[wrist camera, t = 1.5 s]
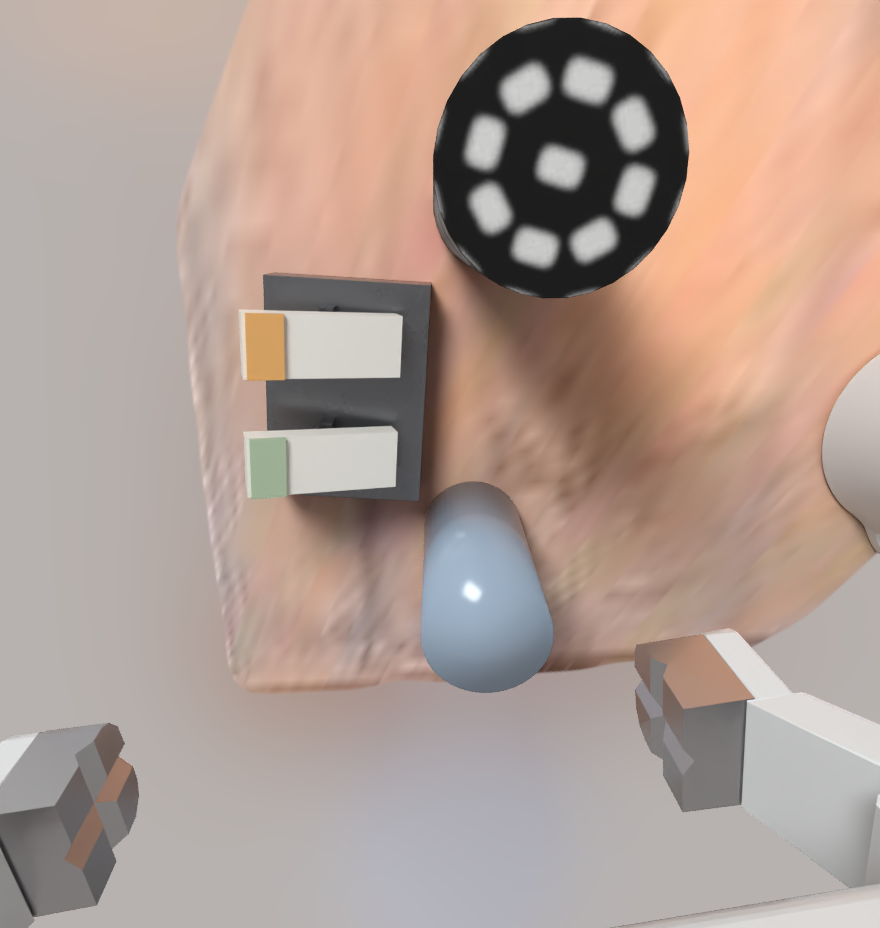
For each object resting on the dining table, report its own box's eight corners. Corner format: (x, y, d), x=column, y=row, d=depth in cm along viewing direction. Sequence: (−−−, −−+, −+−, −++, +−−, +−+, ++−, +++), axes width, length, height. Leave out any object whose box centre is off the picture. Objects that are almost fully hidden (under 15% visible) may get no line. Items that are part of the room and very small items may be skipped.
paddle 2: (391, 425, 41) (399, 433, 39) (389, 479, 42) (396, 488, 40) (243, 431, 37) (245, 440, 36) (245, 489, 39) (248, 499, 37)
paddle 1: (395, 313, 38) (404, 317, 37) (393, 372, 39) (401, 378, 38) (238, 309, 35) (241, 313, 34) (241, 374, 36) (243, 380, 35)
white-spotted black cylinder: (586, 152, 39) (730, 66, 20) (541, 288, 41) (632, 327, 22) (454, 110, 38) (475, -22, 19) (417, 251, 41) (404, 259, 22)
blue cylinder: (524, 484, 46) (561, 582, 33) (514, 571, 48) (545, 695, 35) (427, 478, 46) (424, 575, 32) (421, 566, 48) (417, 689, 35)
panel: (431, 282, 41) (430, 287, 37) (419, 485, 46) (418, 510, 41) (275, 272, 41) (256, 276, 37) (279, 477, 45) (263, 502, 41)
